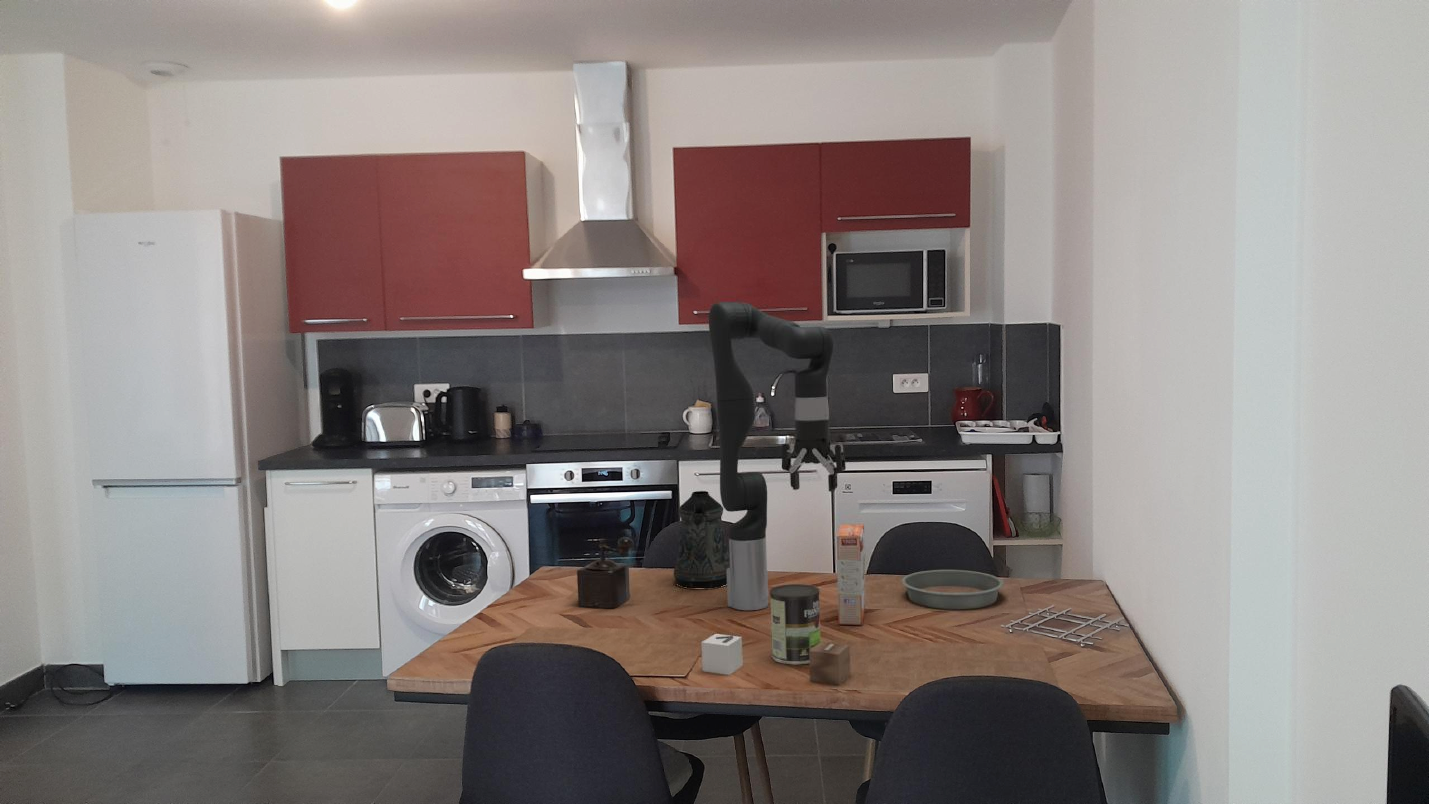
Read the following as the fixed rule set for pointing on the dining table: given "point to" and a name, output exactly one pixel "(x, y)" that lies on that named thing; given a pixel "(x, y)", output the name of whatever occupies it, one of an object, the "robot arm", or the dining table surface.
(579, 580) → the manual coffee grinder
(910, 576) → the cake pan
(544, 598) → the dining table surface
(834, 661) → the walnut block
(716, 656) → the offwhite block
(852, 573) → the cracker box
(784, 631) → the coffee can
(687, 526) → the dark ornate jug
